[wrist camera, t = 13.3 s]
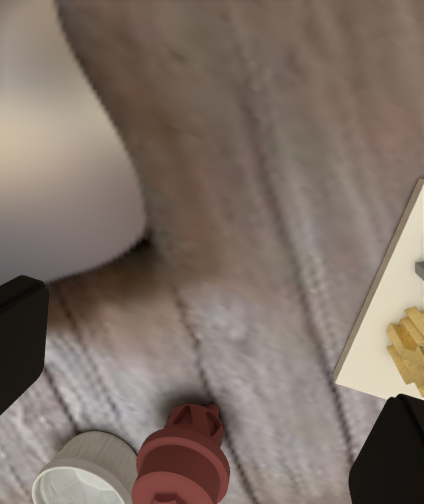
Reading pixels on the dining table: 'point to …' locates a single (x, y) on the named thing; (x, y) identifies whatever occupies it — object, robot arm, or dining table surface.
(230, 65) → the dining table surface
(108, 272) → the dining table surface
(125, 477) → the ramekin
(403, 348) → the brass gear
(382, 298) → the gear board
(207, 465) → the mechanical component
